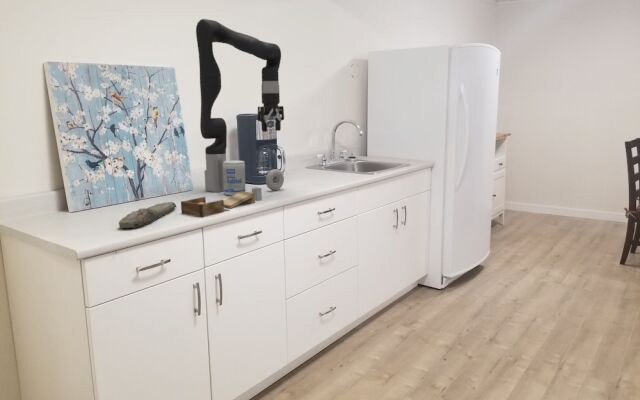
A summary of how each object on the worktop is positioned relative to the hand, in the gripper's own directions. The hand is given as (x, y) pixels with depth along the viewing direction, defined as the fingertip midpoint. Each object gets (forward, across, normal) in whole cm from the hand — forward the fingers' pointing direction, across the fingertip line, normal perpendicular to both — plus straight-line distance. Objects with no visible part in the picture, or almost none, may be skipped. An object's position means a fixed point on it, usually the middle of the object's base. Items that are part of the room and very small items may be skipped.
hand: (271, 131), depth 219 cm
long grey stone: (+29, -57, +9) cm, 64 cm away
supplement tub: (+28, -7, +17) cm, 34 cm away
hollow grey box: (+28, -11, 0) cm, 30 cm away
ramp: (+28, -23, 0) cm, 36 cm away
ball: (+28, -42, 0) cm, 50 cm away
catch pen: (+28, -40, 0) cm, 49 cm away
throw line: (+28, -33, 0) cm, 43 cm away
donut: (+28, +10, +8) cm, 31 cm away
